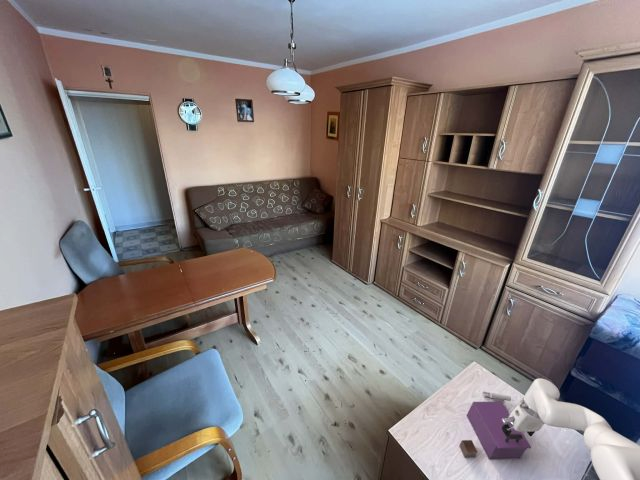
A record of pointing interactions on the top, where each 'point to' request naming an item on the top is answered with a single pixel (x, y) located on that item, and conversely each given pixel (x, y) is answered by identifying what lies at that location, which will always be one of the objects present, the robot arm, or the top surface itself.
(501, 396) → the tablet stand
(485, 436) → the file box
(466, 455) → the block
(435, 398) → the top surface
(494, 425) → the file box lid
